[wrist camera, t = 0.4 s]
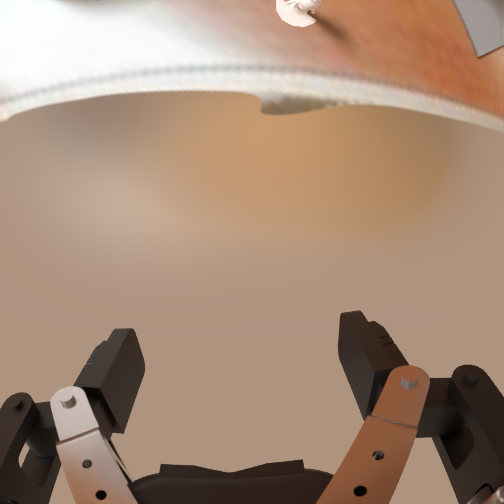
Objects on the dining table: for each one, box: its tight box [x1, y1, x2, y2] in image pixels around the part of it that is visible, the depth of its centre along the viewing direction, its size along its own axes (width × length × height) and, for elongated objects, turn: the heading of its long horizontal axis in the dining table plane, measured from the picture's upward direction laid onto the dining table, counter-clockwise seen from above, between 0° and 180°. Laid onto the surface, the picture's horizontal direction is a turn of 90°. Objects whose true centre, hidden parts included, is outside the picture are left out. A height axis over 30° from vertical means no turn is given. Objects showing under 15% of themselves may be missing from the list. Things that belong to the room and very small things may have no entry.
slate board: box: [452, 0, 504, 57], centre depth 22 cm, size 14×14×1 cm
